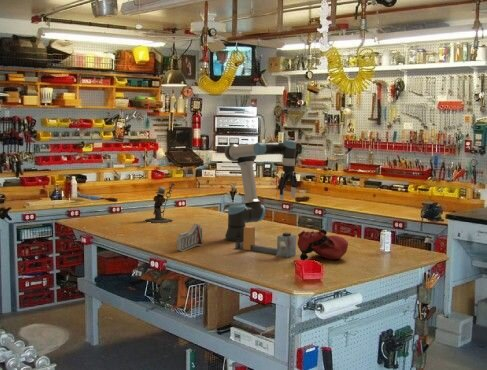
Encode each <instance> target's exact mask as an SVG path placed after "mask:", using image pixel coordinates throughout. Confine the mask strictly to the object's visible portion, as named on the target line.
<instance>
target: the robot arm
mask: <svg viewBox="0 0 487 370" xmlns="http://www.w3.org/2000/svg"><path fill="white" fill-rule="evenodd" d="M296 143H297V142H296V141H295V140H290V139H286V140H283V142H279V141H274V142H256V143H236V144H235V143H233V144H232V143H231V144H229V145H227V147H225V149H224V156H225V158H226V159H227V160H229V161H230V162H237V166H239V168H240V173H241V179H242V187H243V193H244V203H235V204H230V205H229V206H228V210H227V231H226V232H225V236H224V237H225V238H224V239H225V240H226V241H229V242H244V227H246V224H248V223H249V224H250V223H257V222H262V221H263V220H264V218H265V217H266V208H265V205H263V204H262V203H261V200H260V199H259V198H258V192H257V184H256V177H255V172H254V164H255V160H256V159H257V156H264V155H265V156H266V155H271V156H272V155H282V158H283V159H282V164H283V165H282V173H280V179H279V183H278V185H277V189H278V190H279V200H280V201H284V200H285V187H286V185H287V182H289V184H291V185H290V186H291V189H290V198H293V199H295V198H296V189H297V188H298V185H299V183H298V181H297V173H296V171H295V170H296V166H295V165H296V150H297V149H296V148H297V144H296ZM283 172H284V173H283Z"/></svg>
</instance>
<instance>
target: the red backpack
mask: <svg viewBox="0 0 487 370" xmlns="http://www.w3.org/2000/svg"><path fill="white" fill-rule="evenodd" d="M327 233H328V232H327V230H326V229H324V228H323V229H322V228H321V227H319V230H318V231H314V230H313V231H305V230H302V231H301V232H299V233H298V234H297V236H298V238H297V239H298V240H297V247H298V249H299V251H300V252H301V253H300V256H299V258H300V260H302V261H304V260H303V259H306V260H307V259H308V258H309V256H308V254H310V253H312V252H314V253H315V254H317V255H318V256H320V257H322V258H325V259H327V260H332V259H336V260H340V259H341V258H342V257H343V256H344V255H345V254H346V253H347V251H348V248H349V247H348V246H349V242H348V240H347V239H345V238H344V237H342V236H339V235H327Z"/></svg>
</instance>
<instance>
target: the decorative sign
mask: <svg viewBox="0 0 487 370" xmlns="http://www.w3.org/2000/svg"><path fill="white" fill-rule="evenodd" d="M203 240H204V239H203V227H201V224H198V223H194V224H193V225H192V227H190V229H189V231H183V232H181V233H178V236H177V237H176V249H177V251H178V252H185V251H187V250H189V249H192V248H194V247H197V246H200V247H201V246H202V247H203V246H204V243H203Z"/></svg>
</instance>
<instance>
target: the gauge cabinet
mask: <svg viewBox="0 0 487 370" xmlns="http://www.w3.org/2000/svg"><path fill="white" fill-rule="evenodd" d="M276 237H277V238H276V241H277V242H276V248H277V255H276V257H280V258H284V259H285V258H286V259H287V258H291V257H294V256H296V251H297V250H296V249H297V235H296V234H292V233H291V236H288V237H286V236H283V234H280V235H277V236H276Z"/></svg>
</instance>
